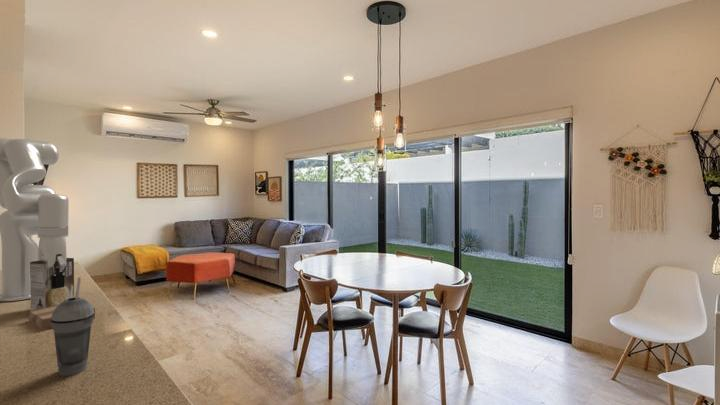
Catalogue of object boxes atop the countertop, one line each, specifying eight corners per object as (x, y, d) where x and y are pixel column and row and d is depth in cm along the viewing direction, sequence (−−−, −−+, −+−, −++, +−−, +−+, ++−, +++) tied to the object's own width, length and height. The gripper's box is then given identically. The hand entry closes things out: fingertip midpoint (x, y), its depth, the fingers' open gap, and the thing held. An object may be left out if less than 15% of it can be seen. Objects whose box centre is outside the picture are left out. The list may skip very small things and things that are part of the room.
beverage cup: (67, 362, 78) (68, 273, 78) (101, 362, 78) (102, 273, 78) (40, 379, 71) (41, 281, 70) (78, 378, 71) (79, 281, 71)
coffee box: (59, 303, 119) (60, 256, 119) (74, 305, 118) (75, 257, 117) (29, 312, 110) (29, 261, 110) (45, 313, 109) (45, 262, 108)
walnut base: (29, 321, 102) (29, 311, 102) (78, 310, 112) (79, 301, 112) (43, 330, 96) (43, 319, 96) (94, 318, 106) (94, 308, 106)
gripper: (29, 231, 115) (28, 284, 115) (47, 235, 106) (47, 292, 106) (58, 229, 121) (57, 279, 122) (78, 233, 112) (77, 287, 112)
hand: (52, 285), depth 114 cm, fingers closed on coffee box, 8 cm apart
